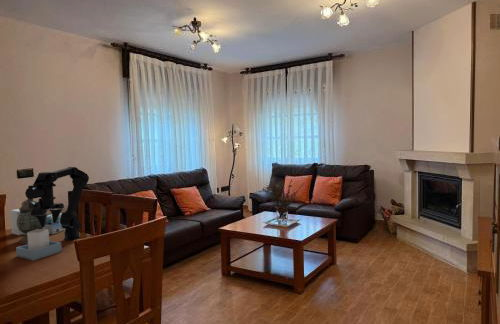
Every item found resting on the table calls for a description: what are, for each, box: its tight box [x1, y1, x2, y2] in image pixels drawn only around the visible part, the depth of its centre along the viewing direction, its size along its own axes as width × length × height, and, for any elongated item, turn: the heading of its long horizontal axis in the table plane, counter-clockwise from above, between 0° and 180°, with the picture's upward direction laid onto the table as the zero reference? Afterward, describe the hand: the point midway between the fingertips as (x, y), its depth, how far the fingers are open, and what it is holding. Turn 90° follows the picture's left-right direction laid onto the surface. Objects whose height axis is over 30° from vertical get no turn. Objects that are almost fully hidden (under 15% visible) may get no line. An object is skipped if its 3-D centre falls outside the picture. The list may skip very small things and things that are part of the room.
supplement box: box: [10, 208, 25, 236], centre depth 205 cm, size 9×9×15 cm
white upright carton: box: [27, 228, 50, 251], centre depth 164 cm, size 6×6×11 cm
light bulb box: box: [43, 212, 65, 235], centre depth 206 cm, size 11×7×11 cm, turn 168°
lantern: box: [17, 198, 46, 244], centre depth 189 cm, size 14×14×25 cm
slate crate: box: [15, 240, 63, 262], centre depth 164 cm, size 14×14×4 cm
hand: (49, 224), depth 175 cm, fingers open, 9 cm apart
